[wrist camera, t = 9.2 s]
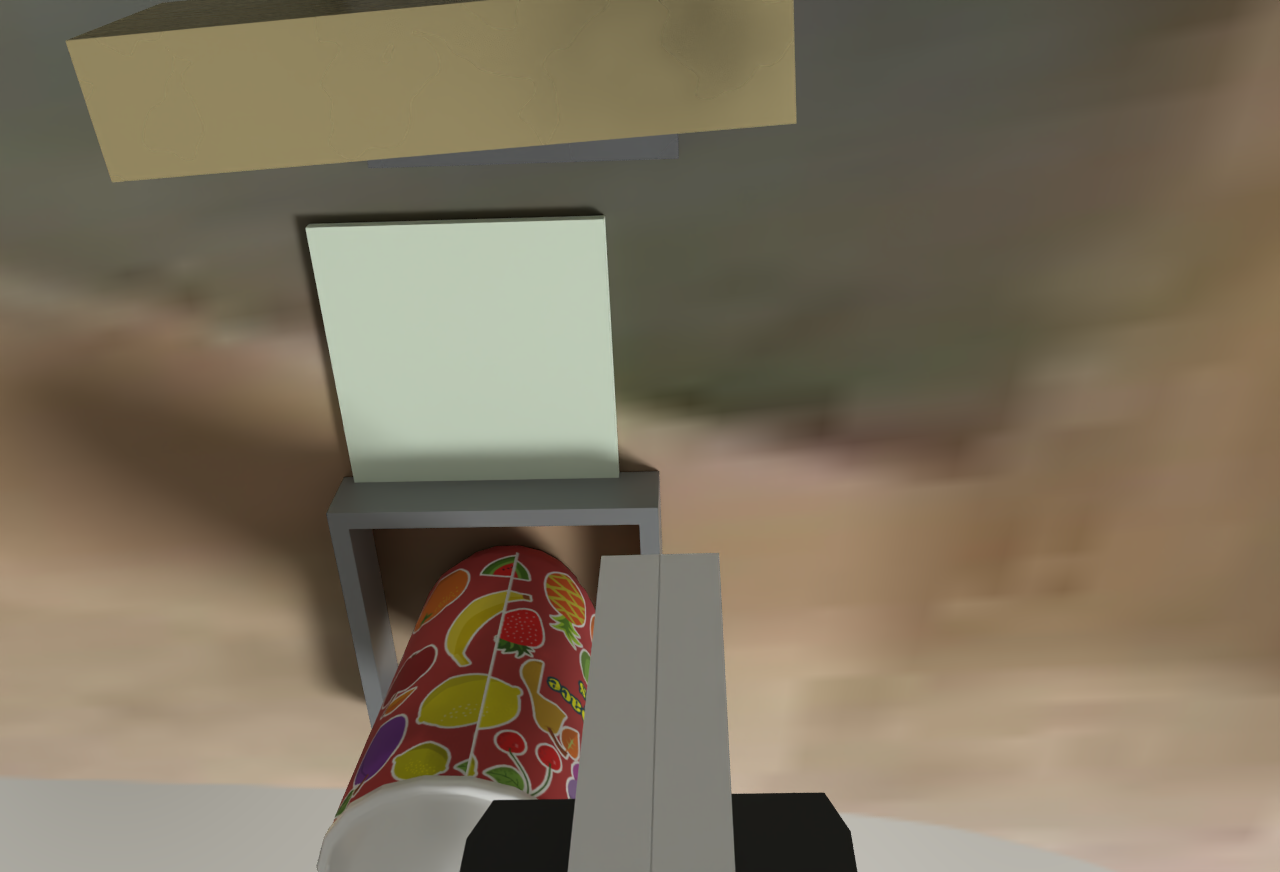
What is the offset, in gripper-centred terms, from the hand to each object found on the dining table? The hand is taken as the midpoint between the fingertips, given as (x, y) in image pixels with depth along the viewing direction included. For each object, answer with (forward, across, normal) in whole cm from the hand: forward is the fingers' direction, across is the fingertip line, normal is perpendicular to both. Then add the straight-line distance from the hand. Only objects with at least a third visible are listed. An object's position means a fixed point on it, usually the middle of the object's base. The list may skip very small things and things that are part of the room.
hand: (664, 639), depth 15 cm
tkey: (+23, -5, +5) cm, 24 cm away
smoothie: (+25, -7, -18) cm, 32 cm away
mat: (+25, -8, -7) cm, 27 cm away
